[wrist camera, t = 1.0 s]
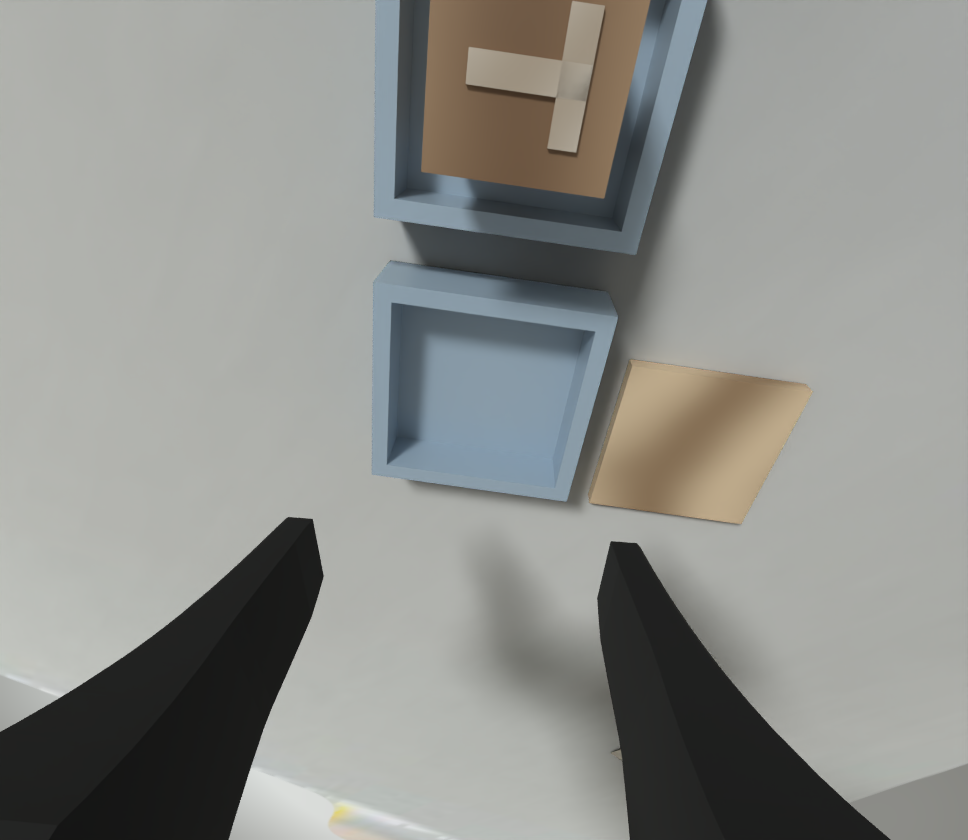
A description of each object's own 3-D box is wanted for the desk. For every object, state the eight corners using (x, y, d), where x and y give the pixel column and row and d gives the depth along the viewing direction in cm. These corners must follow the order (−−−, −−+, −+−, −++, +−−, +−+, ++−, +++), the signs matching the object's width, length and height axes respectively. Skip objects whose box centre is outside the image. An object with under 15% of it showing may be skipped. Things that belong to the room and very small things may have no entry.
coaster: (805, 384, 20) (812, 391, 20) (736, 514, 24) (741, 524, 24) (629, 359, 20) (632, 365, 20) (588, 494, 24) (589, 502, 24)
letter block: (612, 3, 14) (662, -46, 9) (579, 165, 16) (604, 199, 11) (466, -18, 14) (432, -81, 9) (453, 146, 16) (420, 172, 11)
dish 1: (705, -80, 13) (738, -111, 11) (622, 235, 18) (635, 255, 16) (400, -126, 13) (377, -166, 11) (391, 202, 18) (373, 217, 16)
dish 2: (607, 291, 19) (618, 317, 17) (563, 464, 23) (566, 501, 21) (390, 260, 19) (373, 281, 17) (385, 439, 23) (371, 474, 21)
